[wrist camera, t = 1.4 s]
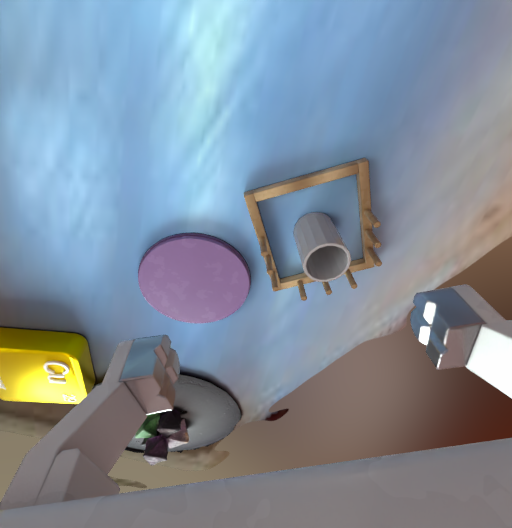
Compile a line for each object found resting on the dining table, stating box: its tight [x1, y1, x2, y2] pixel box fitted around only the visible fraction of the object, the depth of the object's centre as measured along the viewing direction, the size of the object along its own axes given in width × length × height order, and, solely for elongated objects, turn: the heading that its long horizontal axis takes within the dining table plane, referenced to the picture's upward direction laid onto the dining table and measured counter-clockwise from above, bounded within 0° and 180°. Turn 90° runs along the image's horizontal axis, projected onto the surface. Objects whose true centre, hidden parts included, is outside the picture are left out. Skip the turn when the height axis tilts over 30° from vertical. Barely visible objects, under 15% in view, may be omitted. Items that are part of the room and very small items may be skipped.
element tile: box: [0, 327, 95, 404], centre depth 52 cm, size 15×15×5 cm
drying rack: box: [244, 158, 382, 301], centre depth 39 cm, size 15×16×5 cm
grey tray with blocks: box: [76, 375, 241, 465], centre depth 64 cm, size 35×35×9 cm
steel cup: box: [293, 212, 351, 282], centre depth 38 cm, size 6×6×8 cm
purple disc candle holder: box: [138, 233, 251, 323], centre depth 45 cm, size 16×16×1 cm
